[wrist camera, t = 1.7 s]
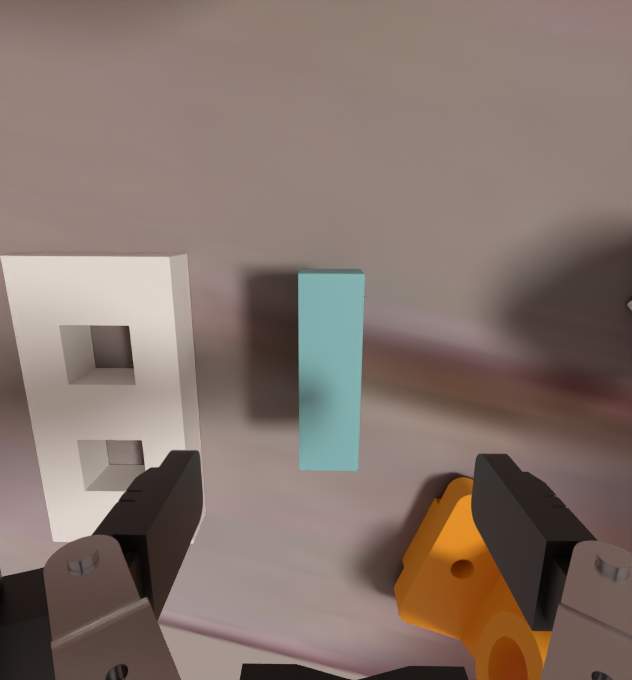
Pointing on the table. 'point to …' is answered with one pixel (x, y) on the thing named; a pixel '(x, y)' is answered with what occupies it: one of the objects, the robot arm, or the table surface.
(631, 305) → the milk carton
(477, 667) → the bracket
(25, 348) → the white slotted board
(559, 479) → the table surface
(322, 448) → the teal block
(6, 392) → the table surface
